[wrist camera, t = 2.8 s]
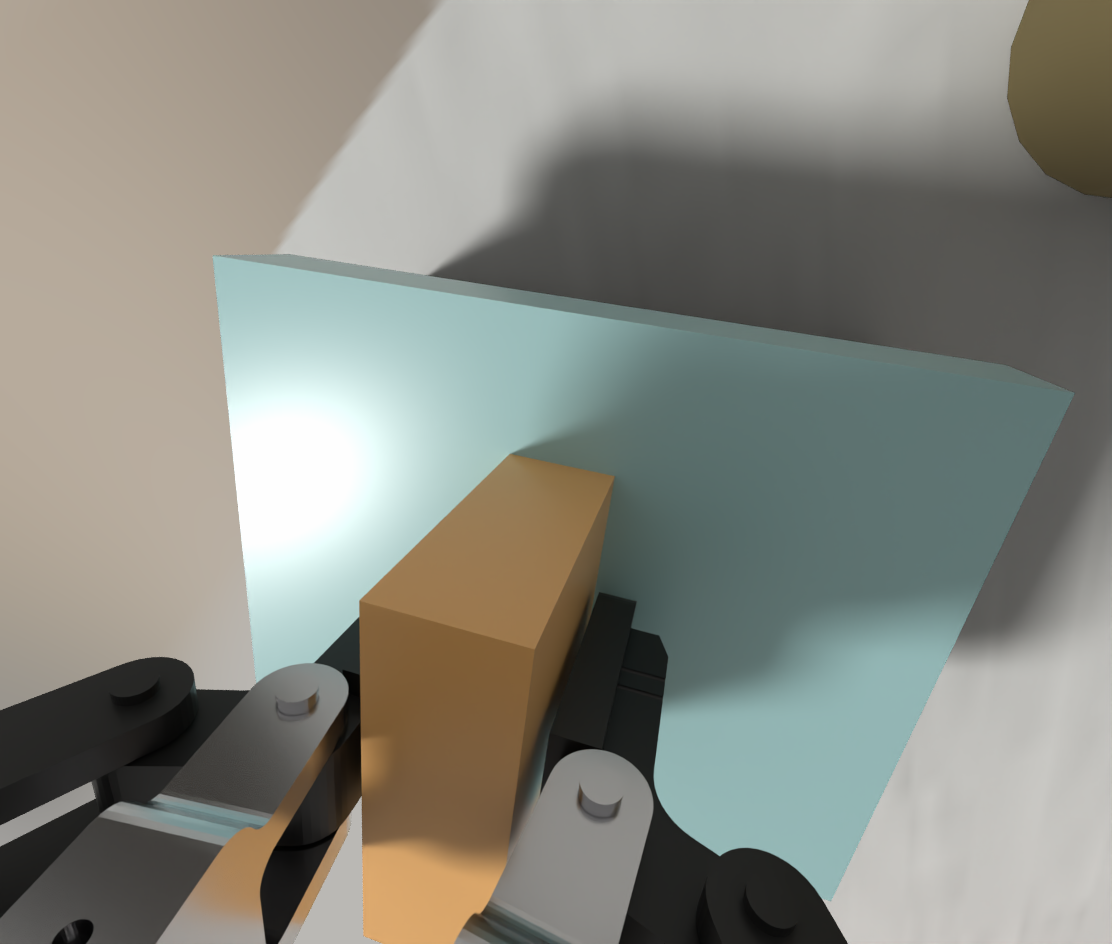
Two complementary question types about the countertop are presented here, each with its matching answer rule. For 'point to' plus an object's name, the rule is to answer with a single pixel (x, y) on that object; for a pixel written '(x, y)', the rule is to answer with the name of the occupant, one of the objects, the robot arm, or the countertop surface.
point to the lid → (606, 549)
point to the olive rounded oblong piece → (1065, 91)
